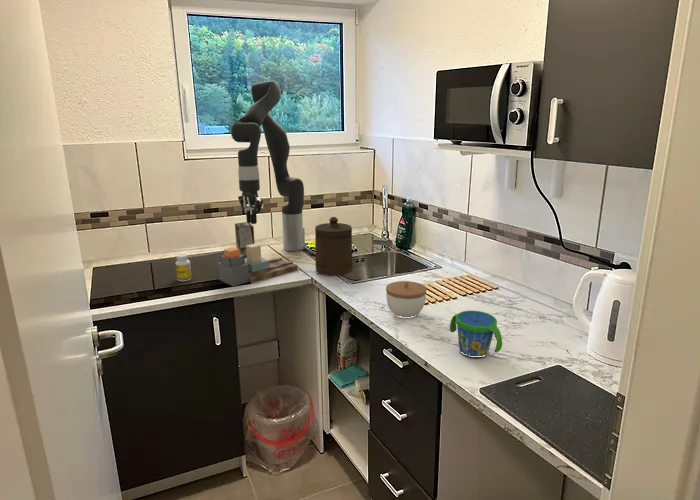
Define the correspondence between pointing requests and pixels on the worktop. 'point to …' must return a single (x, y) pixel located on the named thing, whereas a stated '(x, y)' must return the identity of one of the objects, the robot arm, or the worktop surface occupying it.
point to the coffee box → (244, 236)
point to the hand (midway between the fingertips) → (251, 223)
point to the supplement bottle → (183, 268)
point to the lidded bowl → (405, 298)
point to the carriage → (255, 258)
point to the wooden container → (333, 248)
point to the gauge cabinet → (233, 270)
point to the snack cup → (476, 332)
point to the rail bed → (273, 270)
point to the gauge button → (231, 252)
